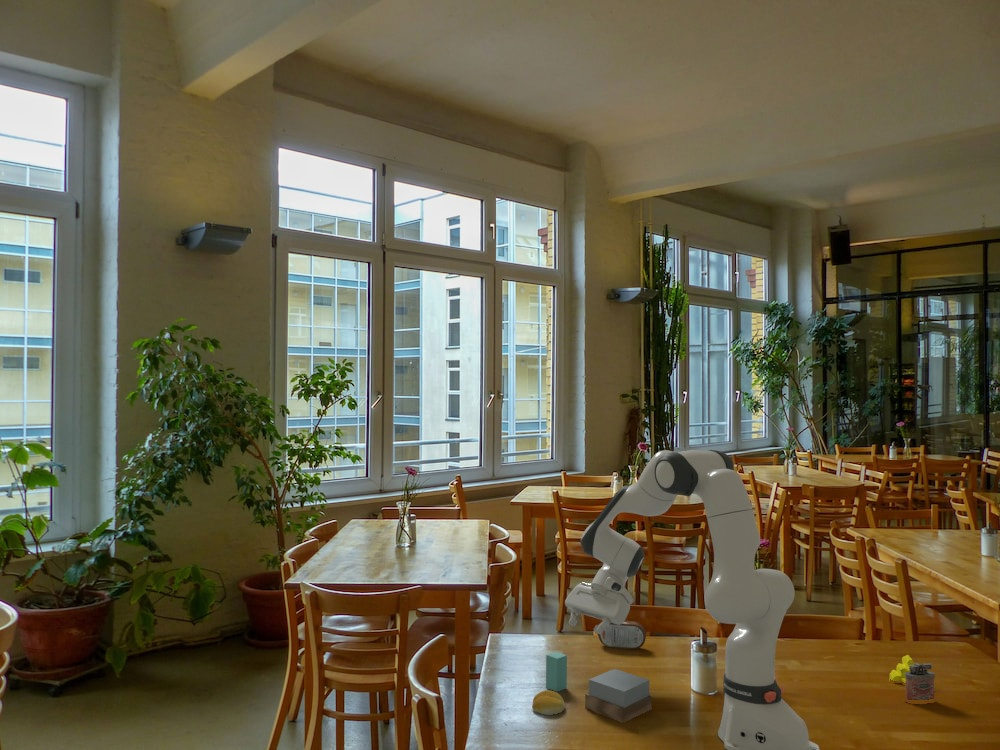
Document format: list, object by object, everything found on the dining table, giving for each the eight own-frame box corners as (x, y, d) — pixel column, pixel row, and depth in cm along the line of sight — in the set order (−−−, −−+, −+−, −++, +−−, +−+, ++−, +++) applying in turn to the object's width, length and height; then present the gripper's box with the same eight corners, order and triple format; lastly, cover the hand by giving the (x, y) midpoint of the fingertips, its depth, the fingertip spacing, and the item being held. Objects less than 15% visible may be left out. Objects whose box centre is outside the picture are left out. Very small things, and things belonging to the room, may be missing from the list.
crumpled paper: (884, 679, 222) (884, 651, 222) (910, 677, 223) (910, 650, 223) (897, 686, 216) (897, 658, 216) (924, 685, 217) (924, 657, 217)
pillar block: (566, 688, 212) (566, 655, 212) (556, 692, 209) (556, 658, 209) (555, 684, 215) (556, 651, 215) (545, 687, 212) (546, 654, 212)
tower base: (651, 711, 199) (651, 695, 199) (622, 725, 190) (622, 708, 190) (614, 697, 207) (614, 682, 207) (585, 709, 199) (585, 694, 199)
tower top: (649, 695, 199) (649, 679, 199) (624, 707, 191) (624, 691, 191) (614, 683, 206) (614, 668, 207) (588, 695, 199) (588, 679, 199)
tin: (645, 647, 246) (646, 621, 246) (646, 651, 243) (646, 624, 243) (598, 644, 249) (598, 618, 249) (597, 647, 246) (598, 621, 246)
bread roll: (531, 716, 194) (531, 699, 194) (533, 701, 203) (533, 686, 203) (564, 717, 194) (564, 701, 194) (565, 703, 202) (565, 687, 203)
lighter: (910, 705, 203) (910, 666, 203) (901, 700, 206) (901, 662, 207) (938, 703, 204) (938, 665, 205) (929, 698, 208) (929, 661, 208)
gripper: (574, 575, 233) (551, 613, 226) (628, 588, 218) (606, 630, 211) (584, 587, 236) (561, 626, 229) (638, 601, 221) (616, 643, 214)
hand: (583, 628), depth 220 cm, fingers open, 8 cm apart
